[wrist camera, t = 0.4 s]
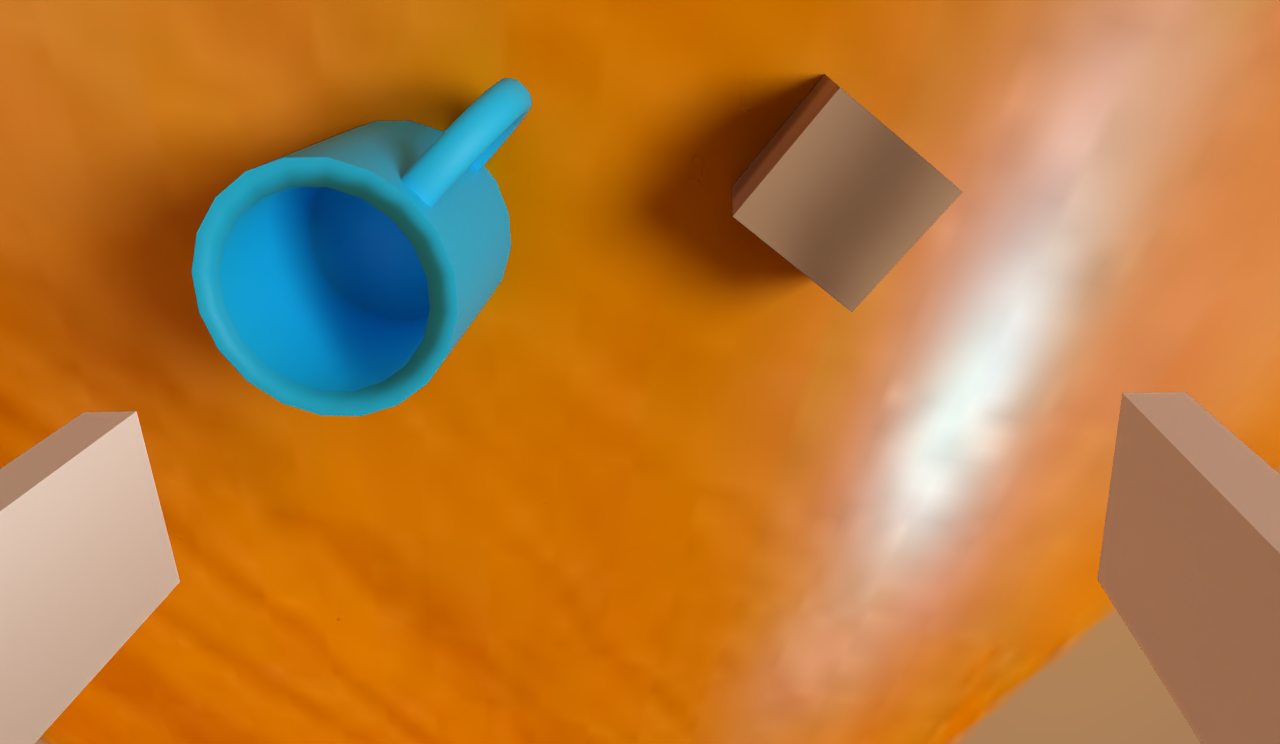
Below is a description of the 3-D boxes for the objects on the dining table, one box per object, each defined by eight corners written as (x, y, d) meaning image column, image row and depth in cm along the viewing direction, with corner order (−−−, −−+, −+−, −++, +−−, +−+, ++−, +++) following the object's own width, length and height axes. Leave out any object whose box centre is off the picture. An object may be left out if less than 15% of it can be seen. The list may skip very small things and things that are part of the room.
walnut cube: (731, 186, 36) (732, 216, 31) (824, 73, 34) (840, 87, 30) (835, 271, 37) (851, 312, 32) (931, 164, 35) (962, 191, 31)
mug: (419, 373, 40) (348, 464, 32) (256, 230, 38) (140, 292, 30) (626, 156, 36) (602, 202, 28) (456, -13, 34) (381, -11, 27)
